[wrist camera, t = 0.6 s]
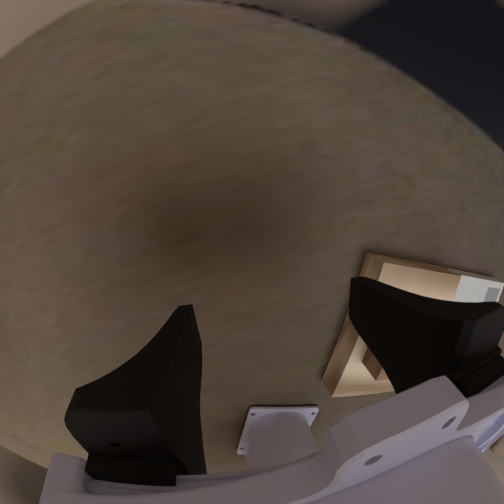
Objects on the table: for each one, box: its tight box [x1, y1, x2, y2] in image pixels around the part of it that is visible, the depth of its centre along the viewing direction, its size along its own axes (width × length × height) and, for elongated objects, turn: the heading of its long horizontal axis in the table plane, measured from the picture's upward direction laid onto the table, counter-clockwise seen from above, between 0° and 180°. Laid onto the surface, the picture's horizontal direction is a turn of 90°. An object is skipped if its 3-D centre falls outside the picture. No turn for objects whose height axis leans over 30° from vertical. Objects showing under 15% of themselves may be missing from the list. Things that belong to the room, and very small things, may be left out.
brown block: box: [361, 347, 389, 381], centre depth 22 cm, size 5×5×3 cm
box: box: [447, 268, 504, 302], centre depth 27 cm, size 14×12×2 cm
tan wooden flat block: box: [322, 252, 461, 397], centre depth 25 cm, size 14×11×3 cm
